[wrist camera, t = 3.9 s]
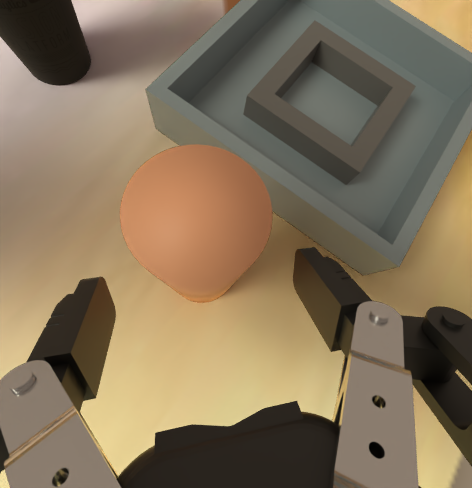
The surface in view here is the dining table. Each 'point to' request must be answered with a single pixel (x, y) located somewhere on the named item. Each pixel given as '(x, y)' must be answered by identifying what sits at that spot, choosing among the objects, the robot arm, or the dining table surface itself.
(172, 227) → the peg
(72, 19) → the drinking cup
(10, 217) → the dining table surface
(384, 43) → the tray
